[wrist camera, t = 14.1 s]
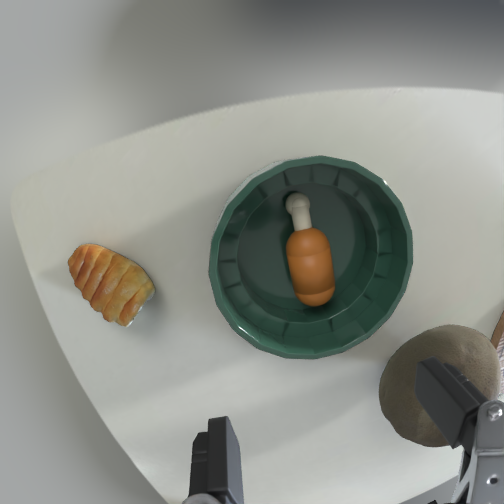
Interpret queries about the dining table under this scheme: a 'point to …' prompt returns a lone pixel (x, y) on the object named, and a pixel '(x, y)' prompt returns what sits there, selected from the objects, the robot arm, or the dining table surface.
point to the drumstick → (308, 255)
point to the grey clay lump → (445, 350)
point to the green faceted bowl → (342, 252)
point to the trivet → (500, 346)
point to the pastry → (110, 282)
